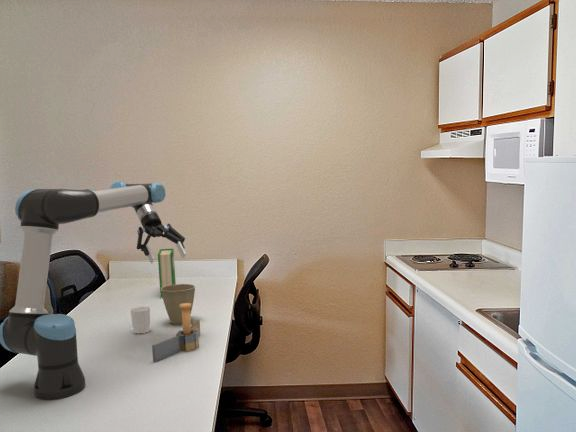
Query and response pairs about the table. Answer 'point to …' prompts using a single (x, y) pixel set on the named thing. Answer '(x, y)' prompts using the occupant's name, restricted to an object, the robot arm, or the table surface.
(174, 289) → the plant pot
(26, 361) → the table surface
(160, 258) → the hardback book
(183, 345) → the hinge leaf
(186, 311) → the hinge pin
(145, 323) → the white cup
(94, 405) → the table surface
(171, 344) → the hinge leaf
